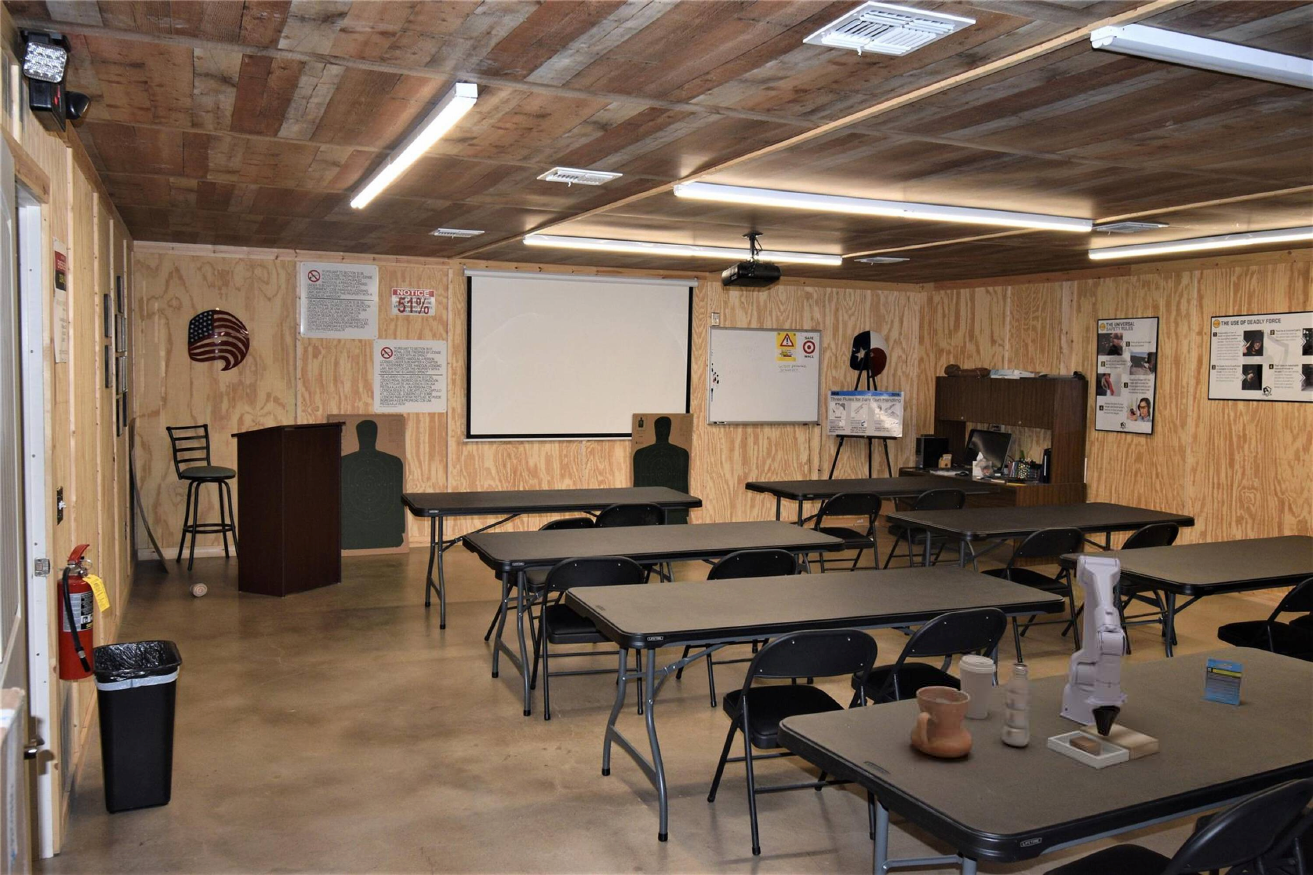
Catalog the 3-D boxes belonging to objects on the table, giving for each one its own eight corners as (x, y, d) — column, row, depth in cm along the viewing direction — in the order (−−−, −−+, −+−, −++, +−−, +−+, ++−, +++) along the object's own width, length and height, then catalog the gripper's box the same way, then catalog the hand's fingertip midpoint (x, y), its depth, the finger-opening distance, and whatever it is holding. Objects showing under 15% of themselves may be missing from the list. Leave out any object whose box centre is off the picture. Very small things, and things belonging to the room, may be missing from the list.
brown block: (1083, 735, 243) (1082, 747, 243) (1069, 738, 241) (1068, 750, 241) (1101, 742, 239) (1100, 754, 239) (1087, 746, 236) (1086, 758, 236)
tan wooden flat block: (1079, 739, 250) (1080, 727, 249) (1106, 732, 255) (1107, 720, 255) (1130, 759, 238) (1131, 747, 237) (1157, 751, 243) (1158, 739, 243)
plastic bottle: (1028, 741, 247) (1033, 663, 245) (1029, 751, 240) (1034, 670, 239) (1000, 737, 249) (1006, 659, 247) (1000, 746, 243) (1006, 667, 241)
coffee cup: (953, 717, 262) (957, 661, 261) (957, 705, 271) (960, 652, 270) (991, 723, 258) (995, 667, 257) (994, 711, 267) (997, 657, 266)
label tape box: (1239, 702, 283) (1243, 660, 282) (1239, 706, 280) (1242, 663, 279) (1204, 695, 288) (1208, 654, 287) (1203, 699, 284) (1207, 657, 283)
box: (1047, 747, 243) (1047, 737, 243) (1077, 739, 249) (1078, 730, 249) (1097, 768, 231) (1098, 758, 231) (1128, 760, 237) (1129, 750, 237)
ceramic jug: (936, 733, 250) (938, 678, 248) (987, 752, 238) (989, 694, 237) (891, 751, 238) (893, 693, 237) (942, 771, 227) (945, 711, 226)
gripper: (1103, 689, 235) (1099, 745, 236) (1140, 681, 242) (1136, 735, 243) (1077, 680, 241) (1073, 734, 242) (1114, 672, 248) (1110, 725, 249)
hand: (1103, 734), depth 243 cm, fingers closed
